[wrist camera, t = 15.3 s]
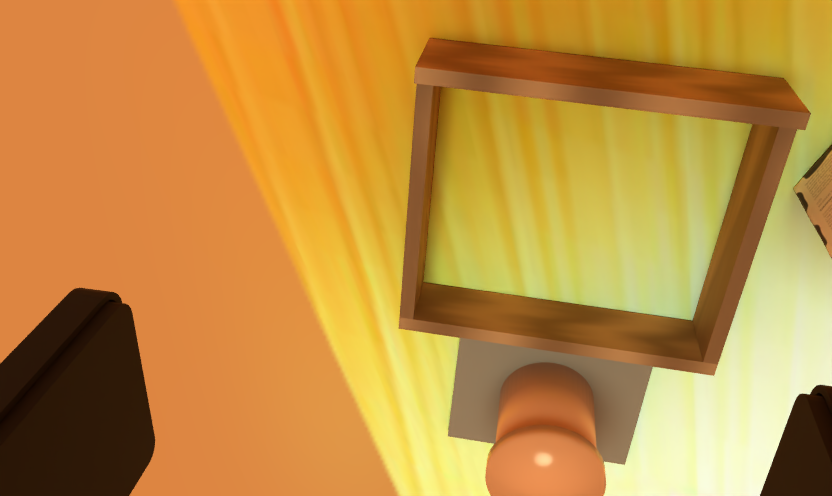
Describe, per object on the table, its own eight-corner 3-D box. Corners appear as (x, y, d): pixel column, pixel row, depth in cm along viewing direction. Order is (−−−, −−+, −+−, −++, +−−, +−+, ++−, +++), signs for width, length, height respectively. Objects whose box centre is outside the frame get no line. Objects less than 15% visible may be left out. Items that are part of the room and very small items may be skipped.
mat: (653, 353, 50) (654, 359, 49) (624, 458, 54) (624, 464, 54) (462, 325, 51) (460, 330, 50) (448, 430, 55) (447, 436, 55)
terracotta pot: (609, 366, 50) (616, 448, 44) (589, 445, 53) (593, 532, 47) (500, 349, 50) (492, 428, 44) (488, 429, 54) (479, 512, 48)
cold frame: (783, 78, 40) (810, 113, 36) (702, 333, 48) (717, 387, 44) (429, 37, 42) (415, 66, 37) (409, 291, 50) (395, 338, 46)
